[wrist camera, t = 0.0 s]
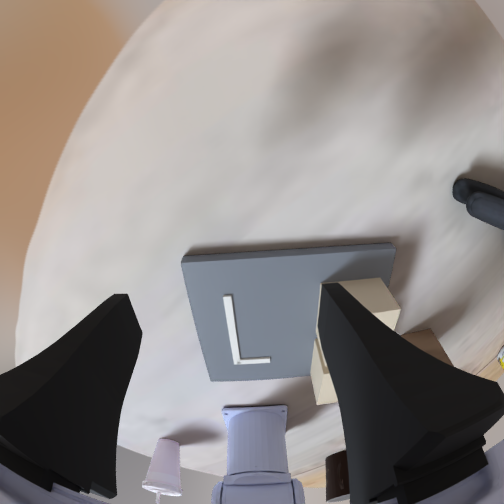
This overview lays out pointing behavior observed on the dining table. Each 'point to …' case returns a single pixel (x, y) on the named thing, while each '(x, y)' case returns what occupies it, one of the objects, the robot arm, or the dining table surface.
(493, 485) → the robot arm
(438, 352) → the walnut block
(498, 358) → the supplement bottle
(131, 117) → the dining table surface
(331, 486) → the coffee mug
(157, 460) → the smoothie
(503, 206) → the can opener
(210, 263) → the board
